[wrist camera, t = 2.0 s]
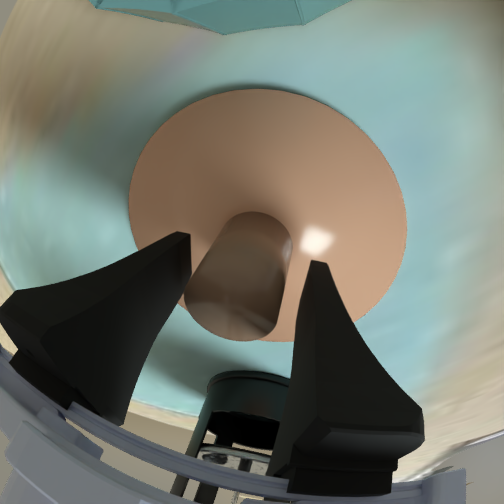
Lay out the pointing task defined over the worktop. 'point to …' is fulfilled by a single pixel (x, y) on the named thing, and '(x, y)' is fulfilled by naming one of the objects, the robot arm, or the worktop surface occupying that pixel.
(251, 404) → the french press
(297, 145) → the lid
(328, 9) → the bowl
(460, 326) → the worktop surface
